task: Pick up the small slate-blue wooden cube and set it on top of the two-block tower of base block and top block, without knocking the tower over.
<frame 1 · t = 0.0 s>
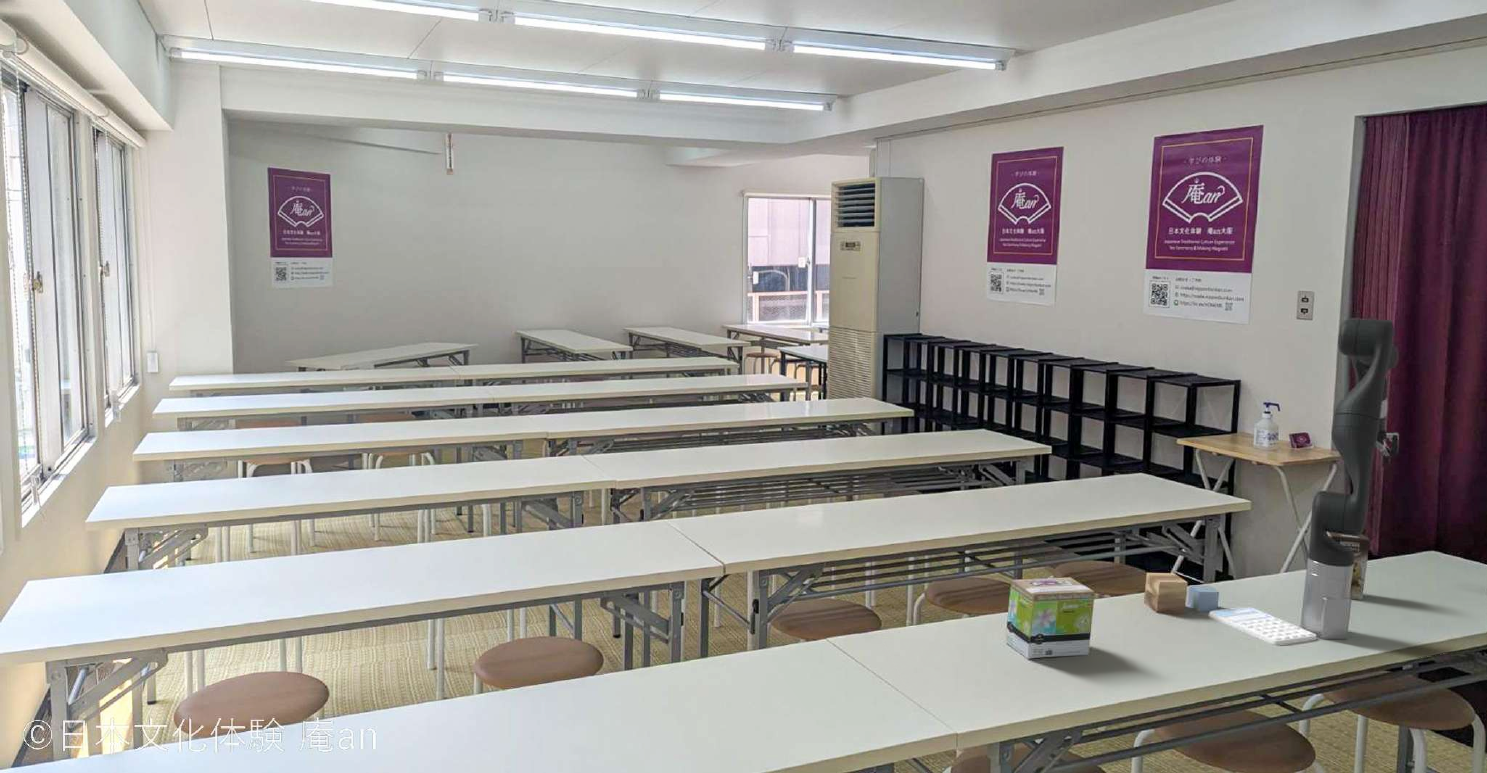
hand: (1366, 463, 282), 31 cm above the table, tool tilted 20°, fingers open, 8 cm apart
tea box: (1046, 650, 225), on the table
blue cube: (1202, 608, 255), on the table
base block: (1163, 608, 254), on the table, touching top block
calculator: (1260, 629, 243), on the table
top block: (1165, 593, 254), point 4 cm above the table, touching base block
coffee box: (1340, 595, 269), on the table
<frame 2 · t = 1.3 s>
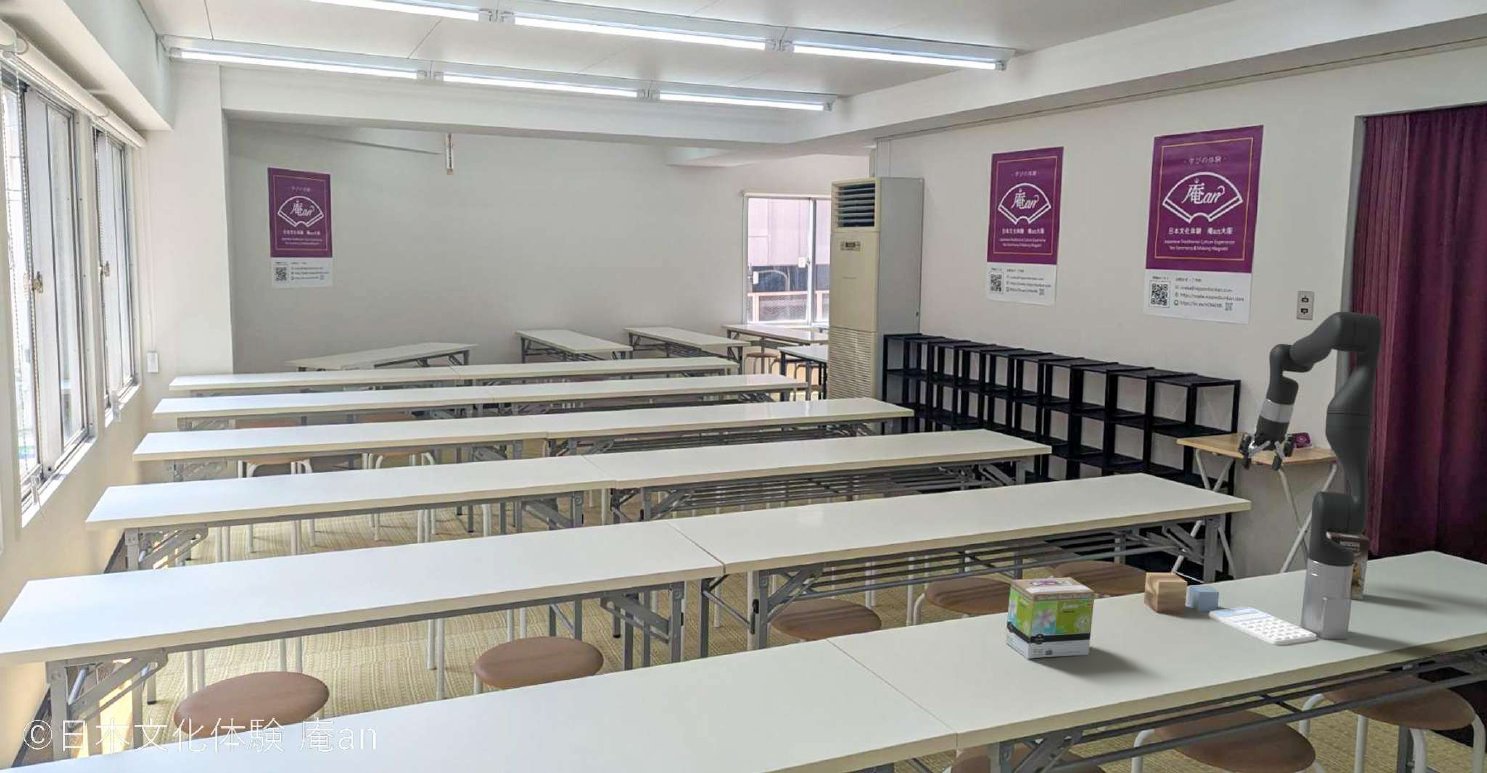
hand: (1259, 469, 283), 29 cm above the table, tool pointing down, fingers open, 8 cm apart
nothing on the table moved.
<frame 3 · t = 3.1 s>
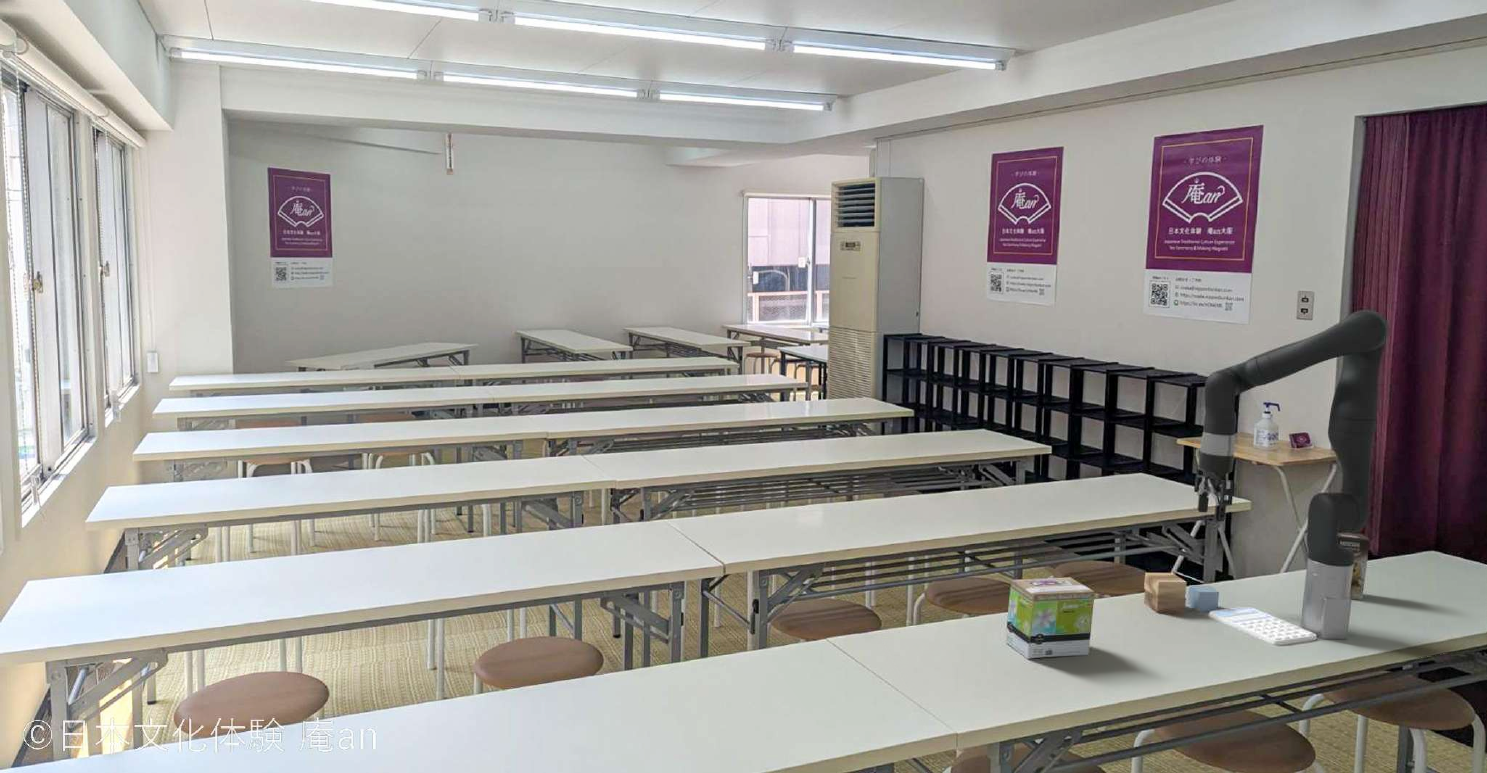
hand: (1210, 516, 253), 23 cm above the table, tool pointing down, fingers open, 8 cm apart
nothing on the table moved.
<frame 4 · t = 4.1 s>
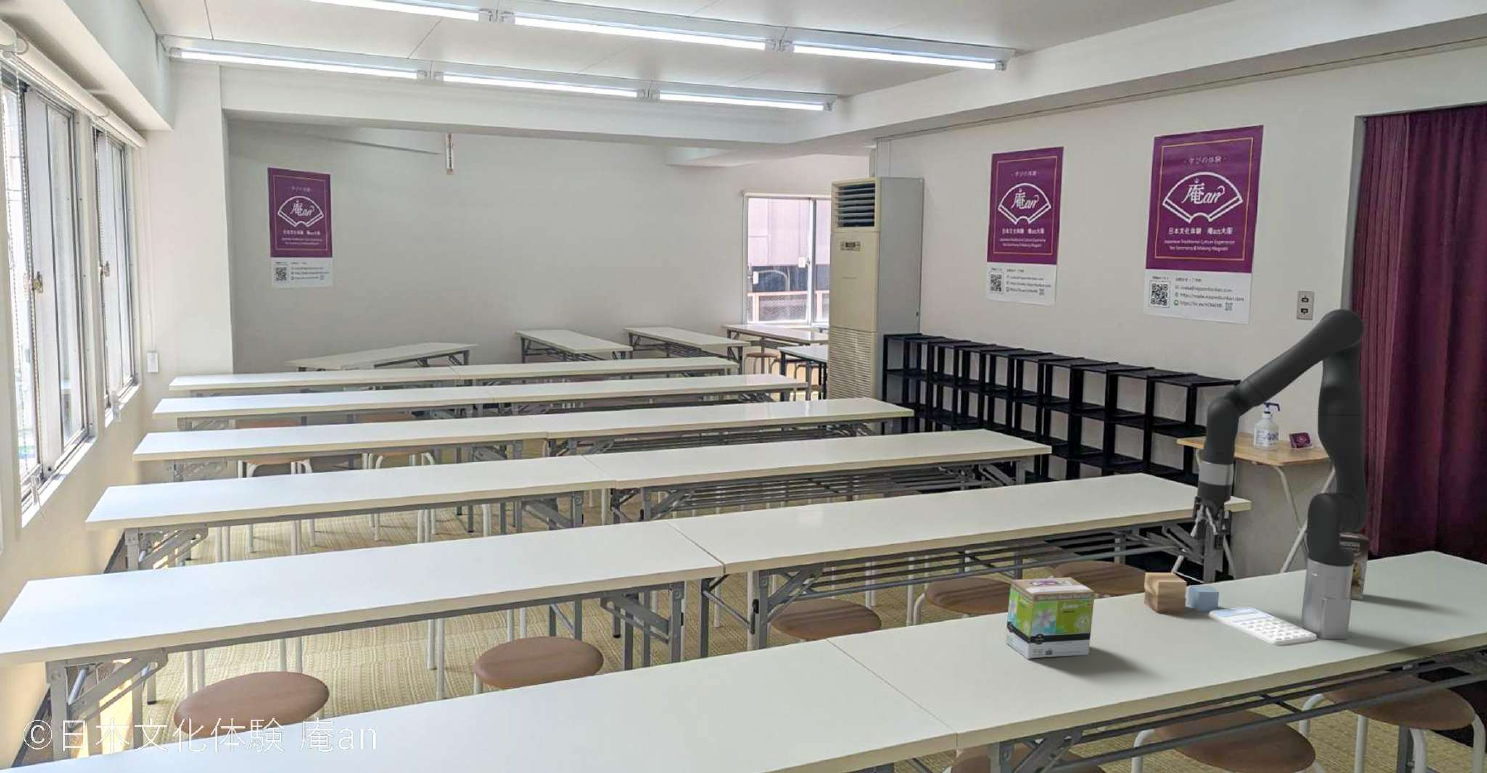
hand: (1208, 543, 254), 16 cm above the table, tool pointing down, fingers open, 8 cm apart
nothing on the table moved.
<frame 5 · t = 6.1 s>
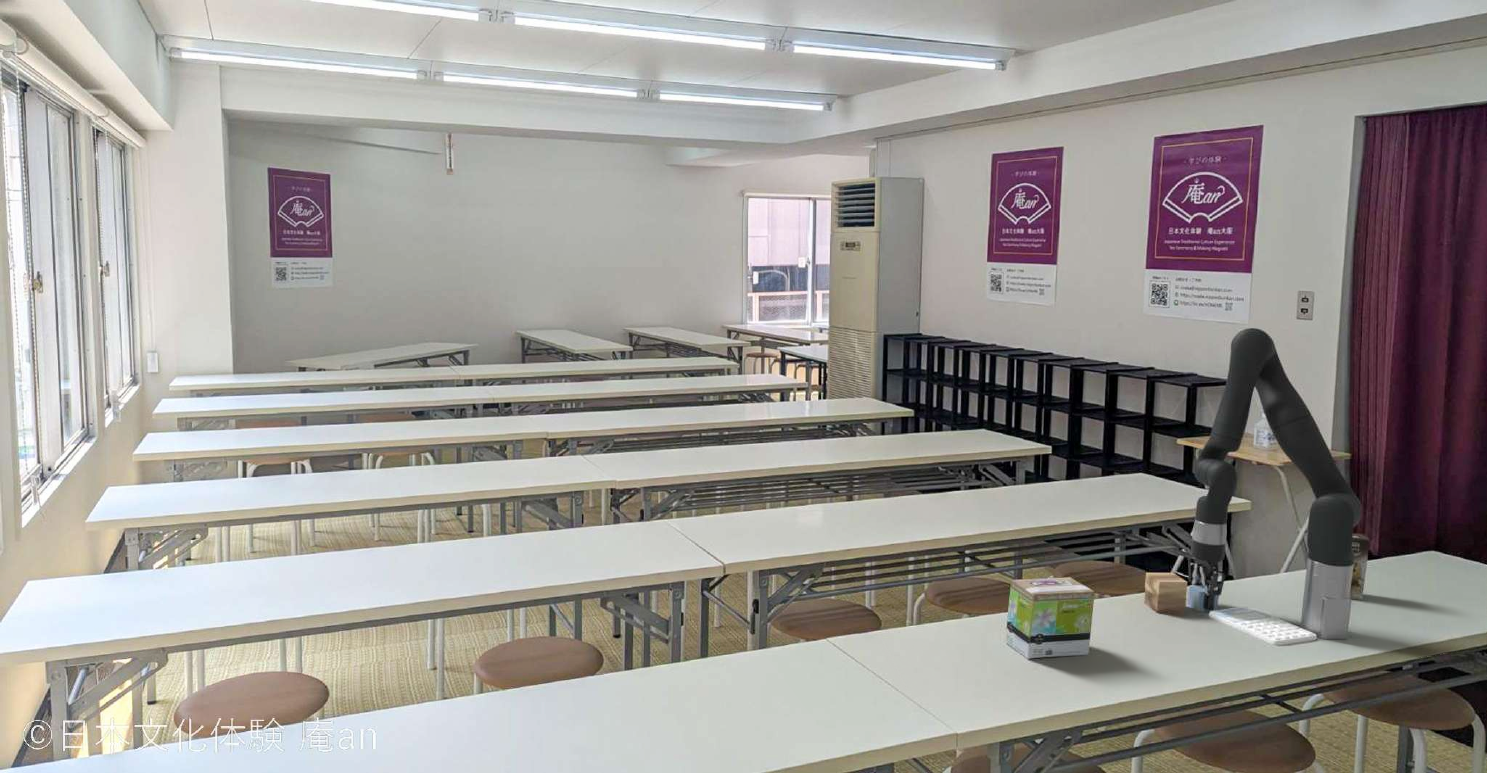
hand: (1202, 605, 255), 1 cm above the table, tool pointing down, fingers closed on blue cube, 5 cm apart
blue cube: (1202, 608, 255), on the table, touching gripper
everything else where it was.
when the fingers open (10 cm above the table, at t = 12.8 s): blue cube drops 2 cm, resting on top block.
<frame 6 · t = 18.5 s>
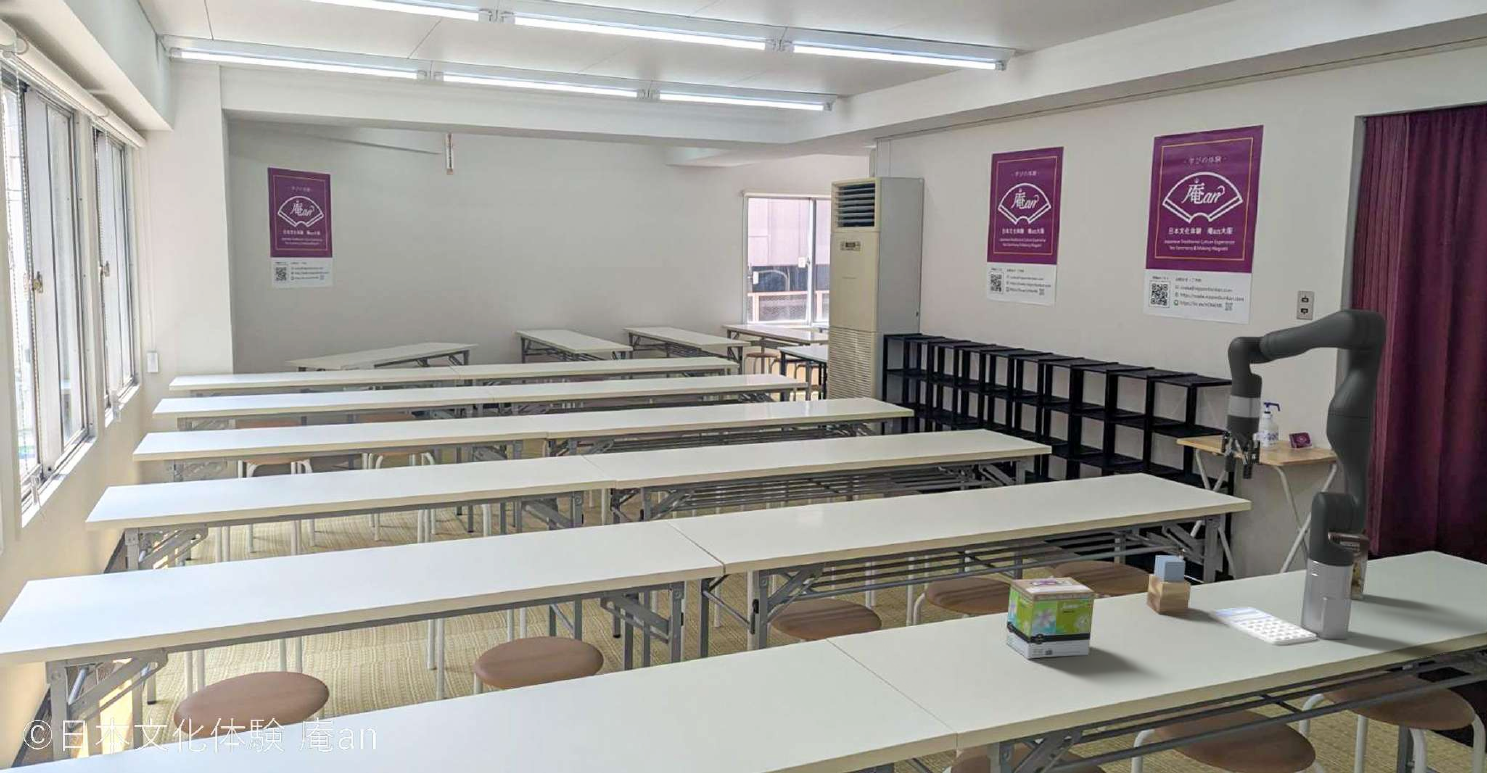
hand: (1237, 475, 268), 30 cm above the table, tool pointing down, fingers open, 8 cm apart
blue cube: (1168, 578, 252), point 8 cm above the table, touching top block
top block: (1168, 594, 253), point 4 cm above the table, touching base block, blue cube
at the end: blue cube 0.4 cm off-centre on the top block, point 4.0 cm above the top block's base; blue cube tilted 0°; top block 0.1 cm off-centre on the base block, point 4.0 cm above the base block's base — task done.
